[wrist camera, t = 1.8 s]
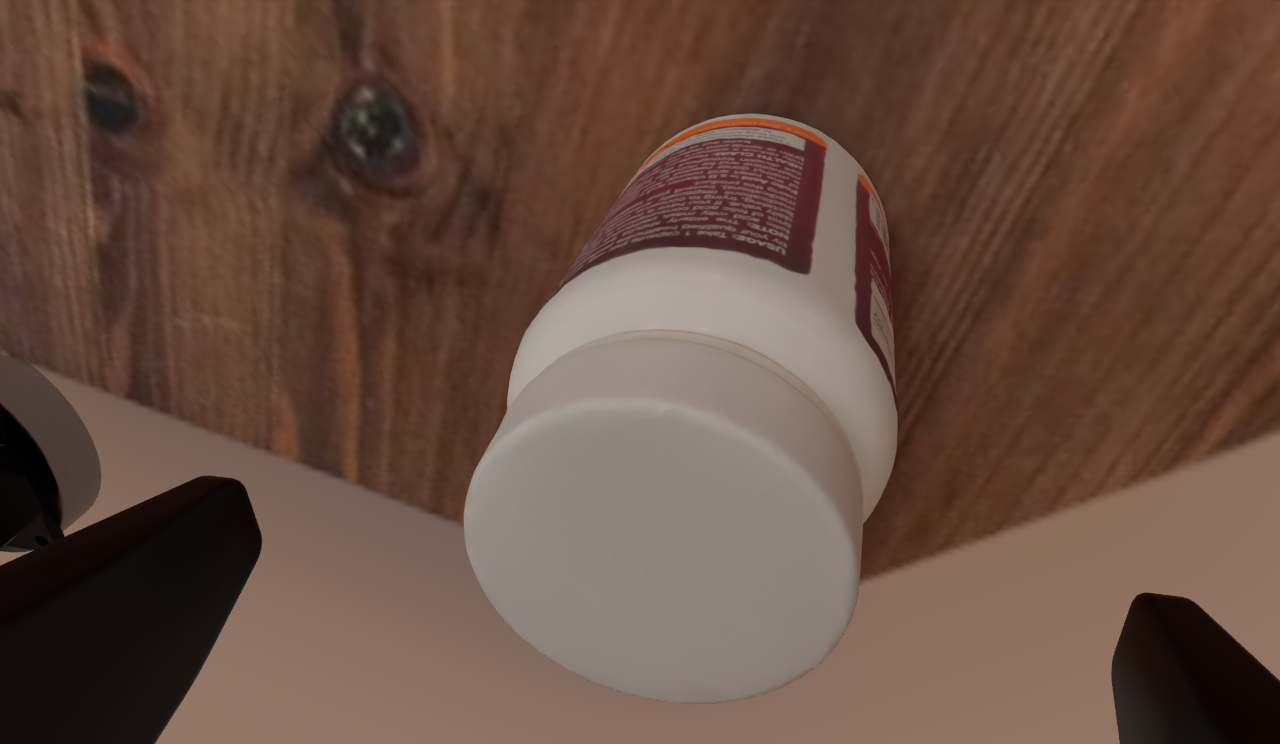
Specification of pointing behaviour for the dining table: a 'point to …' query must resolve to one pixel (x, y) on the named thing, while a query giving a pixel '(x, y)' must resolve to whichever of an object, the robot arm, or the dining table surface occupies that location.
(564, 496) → the pill bottle
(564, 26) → the dining table surface
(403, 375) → the dining table surface
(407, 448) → the dining table surface
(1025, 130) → the dining table surface
